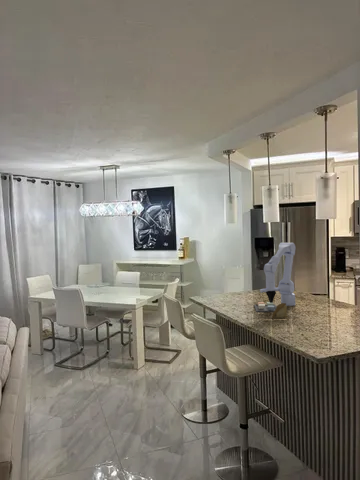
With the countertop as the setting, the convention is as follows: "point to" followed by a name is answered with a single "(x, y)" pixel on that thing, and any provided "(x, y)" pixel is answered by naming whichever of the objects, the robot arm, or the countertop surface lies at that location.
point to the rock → (280, 312)
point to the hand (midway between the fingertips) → (271, 302)
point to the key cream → (261, 306)
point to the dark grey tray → (264, 309)
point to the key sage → (269, 304)
